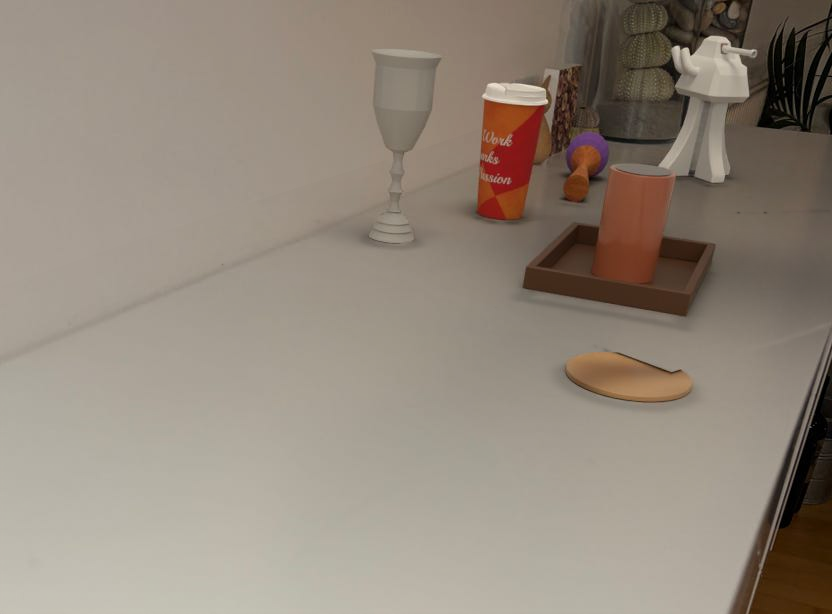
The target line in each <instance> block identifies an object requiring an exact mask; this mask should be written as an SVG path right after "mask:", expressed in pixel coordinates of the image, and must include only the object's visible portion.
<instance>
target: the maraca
mask: <svg viewBox="0 0 832 614" xmlns="http://www.w3.org/2000/svg"><path fill="white" fill-rule="evenodd" d="M609 156H610V148H609V144H608V142H607V141H606V139H605V137H604V136H602V135H601V134H599V133H597V132H593V131H585V132H582V133H579V134H578V135H576V136H575V137H573V139H572V140H571V142H570V143H569V145H568V147H567V148H566V154H565V161H566V167H567V168H568V170H569V171H570V172H571V174H570V175H569V176H568V177H567V178H566V179H565V182H564V183H563V187H562V191H563V195H564V197H565V198H566V199H567V200H569V201H570V202H576V203H577V202H580V201H582V200H584V199H585V198H586V197H587V196H588V194H589V191H590V182H589V181H590V180H589V179H590V178H594V177H597V176H598V175H600V173H602V172H603V171H604V169H605V167H606V166H607V164H608V161H609Z"/></svg>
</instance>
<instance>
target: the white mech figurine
mask: <svg viewBox="0 0 832 614" xmlns="http://www.w3.org/2000/svg"><path fill="white" fill-rule="evenodd" d="M670 53H671V55H672V62H673V64H674V68H675V70H676V71H677V72H678V73H679V74H681V75H680V76H679V78H678V80H677V81H676V83H675V86H674V89H675V91H676V92H677V94H678V95H682V96H686V97H690V98H689V102H688V106H687V111H686V114H685V118H684V121H683V124H682V126H681V128H680V131H679V133H678V135H677V137H676V139H675V141H674V143H673V144H672V146H671V148H670V149H669V151H667V152H668V153H667V154H666V155H665V156H664V158H663V159H662V161H661V162H660V163H659V164H658V166H657V167H662V168H666V169H669V170H672V171H674V172H675V173H676V174H677V176H676V177H685V176H686V177H688V176H689V177H694V178H697V179H700V180H703V181H705V182H708V183H712V184H715V183H716V184H717V183H718V184H722V183H724V182H725V178H726V176H730V172H731V164H730V162H729V159H728V154H727V150H726V139H725V138H726V137H725V136H726V135H725V126H726V125H725V124H726V120H727V119H726V118H727V112H728V108H729V103H731V104H732V103H734V104H735V103H736V104H737V103H738V104H739V103H740V104H743V103H745V101H746V100H747V99H748V98H750V87H749V79H748V66H746V65H745V64H743V63H742V60H741V56H745V57H749V58H750V59H755V58H756V57H757V55H758V50H757V49H745V48H739V47H734V46H732V43H731V41H730V40H728V38H727V37H726V36H720V35H709V36H708V37H706V38H704V39H703V40H702V42H701V45H699V47H698V48H697V49H696V51H694V53H693V54H692V55H691V52H690V49H689V47H683V48H682V49H681V46H680V45H675V46H673V47H671V49H670Z"/></svg>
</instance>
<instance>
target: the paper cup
mask: <svg viewBox="0 0 832 614" xmlns="http://www.w3.org/2000/svg"><path fill="white" fill-rule="evenodd" d="M485 87H486V88H485V92H484V93H483V94H482V96H481V98H482V99H484V102H483V112H482V113H483V114H482V125H481V126H482V129H481V140H480V141H481V142H480V154H479V155H480V156H479V168H478V169H479V170H478V186H477V202H476V206H477V207H476V212H477V214H478V215H480V216H483V217H486V218H489V219H496V220H518V219H521V218H523V214H524V209H525V205H526V201H527V197H528V191H529V187H530V182H531V176H532V172H533V167H534V162H535V158H536V151H537V146H538V141H539V138H540V132H541V128H542V122H543V117H544V112H545V107H546V105H548V104H549V100H548V99H547V90H546V88H544V87H541V86H537V85H531V84H525V83H516V82H515V83H514V82H512V83H510V82H500V83H497V82H490V83H488V84H487V85H486V86H485Z"/></svg>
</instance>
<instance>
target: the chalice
mask: <svg viewBox="0 0 832 614" xmlns="http://www.w3.org/2000/svg"><path fill="white" fill-rule="evenodd" d="M370 51H371V55H372V57H373V60H374V64H375V68H374V80H373V81H374V82H373V95H372V96H373V97H372V100H373V101H372V107H373V110H374V116H375V120H376V124H377V127H378V129H379V132H380V135H381V138H382V141H383V144H384V146H385V148H386V149H388V150H389V151H391V152H392V156H393V162H392V165H391V169H390V170H389V171H388V173H389V174H390V176H391V183H390V186H389V187H388V188H387V192H388V194H389V200H390V202H389V205H388V208H387V209H386V211H385V212H381V213H380V214H379V215H378V216H377V217H376V221H375V222H374V224H373V225H372V230H371V231H370V233H368V236H369V238H370V239H372V240H375V241H377V242H378V241H379V242H381V243H390V244H405V243H410V242H413V241H415V236H414V234H413V232H412V230H413V228H412V226H411V224H410V223H411V222H410V219H409V218H408V216H407V215H406V214H404V213H402V210H401V209H400V199H401V196H402V194H403V193H405V191H404V189H403V188H402V182H401V181H402V179H403V176H404V175H405V173H406V172H405V170H404V165H403V159H404V156H405V153H407V152H410V151H412V150H413V149H414V147H415V146H416V144H417V142H418V140H419V138H420V137H421V135H422V133H423V132H424V130H425V127H426V125H427V123H428V121H429V118H430V115H431V114H432V112H433V111H432V110H433V105H434V104H433V103H434V92H435V85H436V83H435V82H436V73H437V72H436V71H437V69H438V68H437V67H438V66H439V64H440V62H441V60H442V59H443V55H441V54H438V53H433V52H427V51H420V50H411V49H396V48H375V49H371V50H370Z"/></svg>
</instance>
